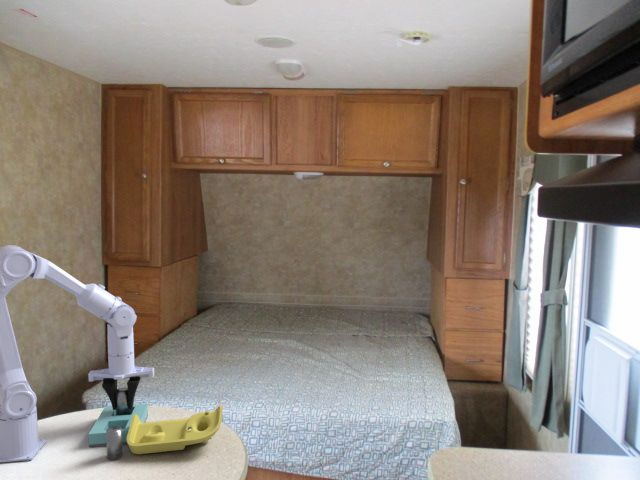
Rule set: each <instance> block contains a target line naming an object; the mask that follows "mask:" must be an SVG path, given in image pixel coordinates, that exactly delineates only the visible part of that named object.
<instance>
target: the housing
mask: <svg viewBox="0 0 640 480" xmlns="http://www.w3.org/2000/svg"><path fill="white" fill-rule="evenodd" d="M148 407H149V405H148V403H139V404H138V403H136V404H133V407H132V409H130V414H129V415H120V416H117V412H116V410H113V408H112V405H106V406H104V407H103V409H102V410H101V413H100V414H99V416H98V418H97V419H96V421H95V423H94V425H93V426H92V428H91V429H90V431H89V432H88V447H89V448H94V447H107V438H106V430H107V429H108V428H110V427H114V426H119V427H121V428H122V446H123V445H128V443H127V435H128V431H129V427H130V424H131V420H132V416H133V414H137V415H138V417H139V419H140V421H141V423H146V422H147V419H148V415H149V411H148V410H149V408H148Z"/></svg>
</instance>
